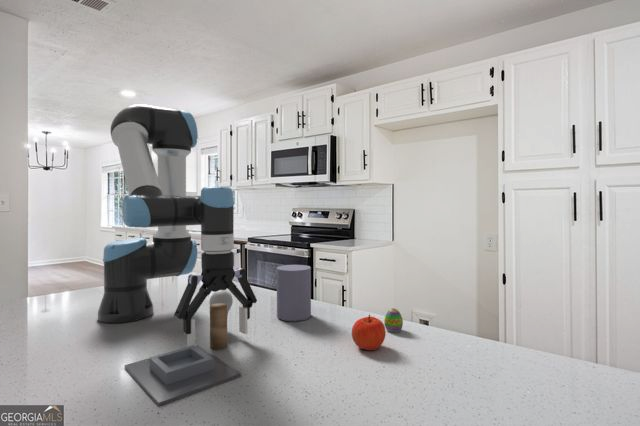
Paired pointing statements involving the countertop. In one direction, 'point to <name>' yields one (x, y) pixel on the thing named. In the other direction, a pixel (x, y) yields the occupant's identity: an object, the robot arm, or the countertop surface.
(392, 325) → the egg
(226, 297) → the lightbulb
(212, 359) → the socket
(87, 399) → the countertop surface
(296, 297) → the container
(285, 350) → the countertop surface
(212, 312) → the peg
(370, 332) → the apple
